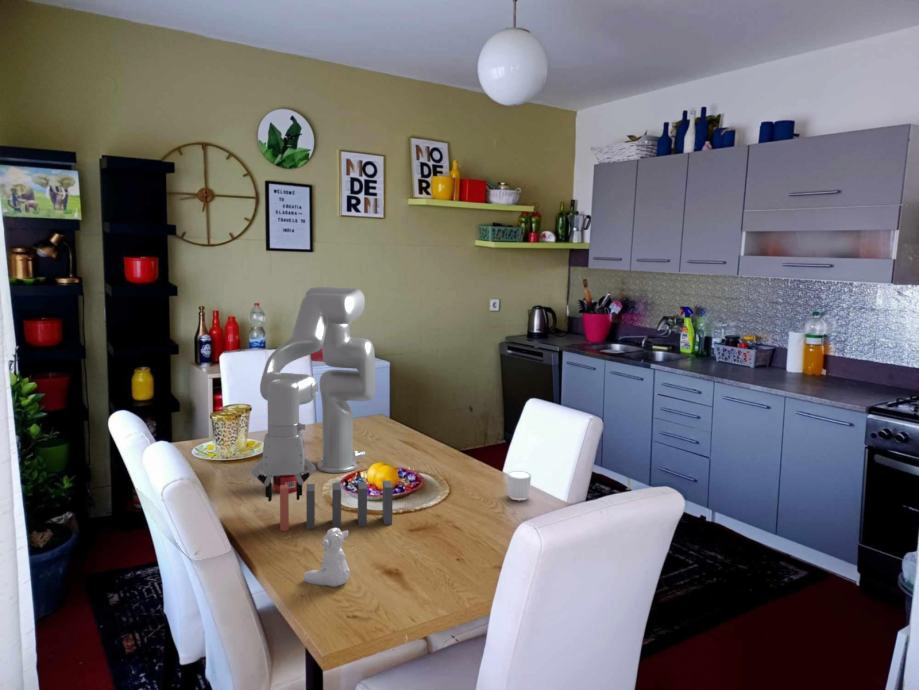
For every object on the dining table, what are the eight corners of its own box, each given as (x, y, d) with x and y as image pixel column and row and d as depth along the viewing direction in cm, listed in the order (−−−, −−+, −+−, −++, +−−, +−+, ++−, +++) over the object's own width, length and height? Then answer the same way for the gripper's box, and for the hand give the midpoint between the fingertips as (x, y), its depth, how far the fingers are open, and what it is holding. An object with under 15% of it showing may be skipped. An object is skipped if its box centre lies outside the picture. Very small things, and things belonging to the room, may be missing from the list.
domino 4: (389, 516, 177) (390, 480, 176) (392, 524, 172) (392, 487, 171) (382, 517, 177) (382, 480, 175) (384, 524, 172) (384, 487, 171)
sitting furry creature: (336, 565, 150) (336, 514, 148) (363, 578, 144) (363, 526, 142) (302, 581, 142) (301, 527, 140) (328, 595, 137) (328, 540, 135)
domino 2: (340, 519, 175) (340, 482, 173) (340, 527, 170) (341, 489, 168) (332, 519, 174) (332, 483, 173) (332, 527, 169) (333, 490, 168)
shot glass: (533, 495, 195) (534, 472, 194) (525, 503, 189) (526, 479, 188) (511, 491, 198) (512, 468, 197) (503, 499, 192) (504, 475, 191)
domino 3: (365, 518, 176) (365, 481, 174) (366, 525, 171) (367, 488, 170) (357, 518, 175) (357, 481, 174) (358, 526, 171) (359, 488, 169)
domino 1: (314, 520, 173) (314, 483, 172) (314, 528, 168) (314, 490, 167) (306, 521, 173) (306, 484, 171) (306, 529, 168) (306, 491, 166)
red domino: (288, 522, 172) (288, 484, 170) (288, 530, 167) (288, 491, 166) (280, 522, 171) (280, 485, 170) (280, 530, 167) (279, 492, 165)
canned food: (306, 486, 197) (306, 450, 195) (290, 495, 190) (290, 458, 188) (283, 482, 200) (283, 447, 198) (267, 491, 192) (267, 454, 190)
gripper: (319, 424, 171) (319, 491, 174) (248, 426, 167) (249, 495, 170) (319, 432, 164) (319, 502, 166) (245, 434, 160) (246, 506, 163)
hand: (284, 498), depth 168 cm, fingers open, 6 cm apart
